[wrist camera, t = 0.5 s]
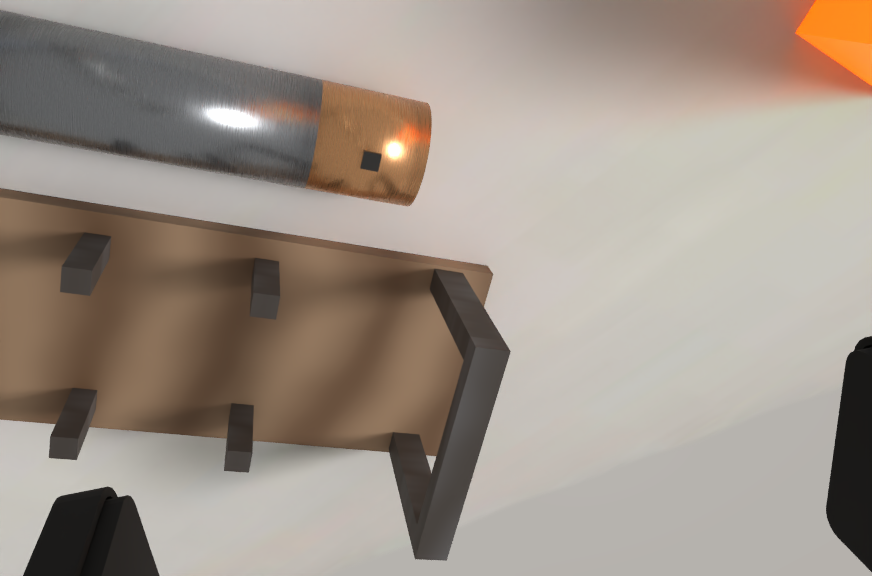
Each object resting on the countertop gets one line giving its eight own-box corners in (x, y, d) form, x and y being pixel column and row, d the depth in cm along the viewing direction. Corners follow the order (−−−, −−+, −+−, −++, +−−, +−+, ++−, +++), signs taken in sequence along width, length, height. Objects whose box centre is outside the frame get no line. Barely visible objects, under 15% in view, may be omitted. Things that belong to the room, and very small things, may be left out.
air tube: (-31, 108, 34) (-78, 139, 30) (-31, -8, 32) (-82, 7, 28) (397, 186, 40) (412, 222, 35) (419, 92, 38) (438, 117, 33)
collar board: (-81, 398, 39) (-189, 536, 30) (-83, 175, 35) (-208, 254, 26) (437, 444, 46) (478, 565, 37) (487, 266, 42) (547, 352, 33)
